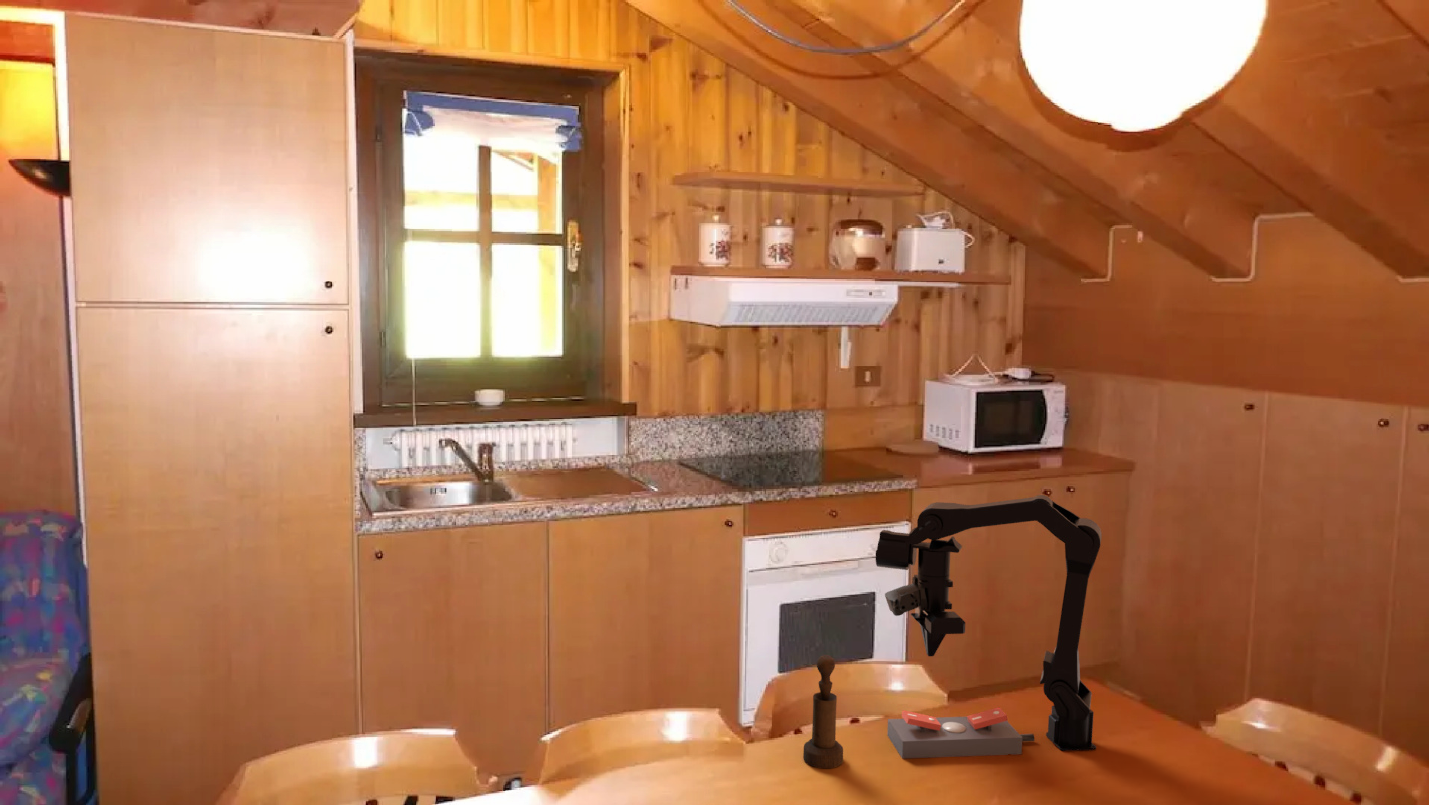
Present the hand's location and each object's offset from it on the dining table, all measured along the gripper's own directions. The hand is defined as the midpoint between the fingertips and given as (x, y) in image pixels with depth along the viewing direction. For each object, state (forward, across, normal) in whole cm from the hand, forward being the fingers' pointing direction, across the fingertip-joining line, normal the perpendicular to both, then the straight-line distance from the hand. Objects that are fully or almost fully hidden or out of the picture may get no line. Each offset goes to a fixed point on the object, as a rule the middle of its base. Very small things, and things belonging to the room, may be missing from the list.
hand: (930, 655), depth 187 cm
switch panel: (+12, +11, +3) cm, 17 cm away
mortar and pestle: (+12, +15, -23) cm, 30 cm away
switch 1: (+8, +11, -5) cm, 14 cm away
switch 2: (+8, +11, +7) cm, 15 cm away
